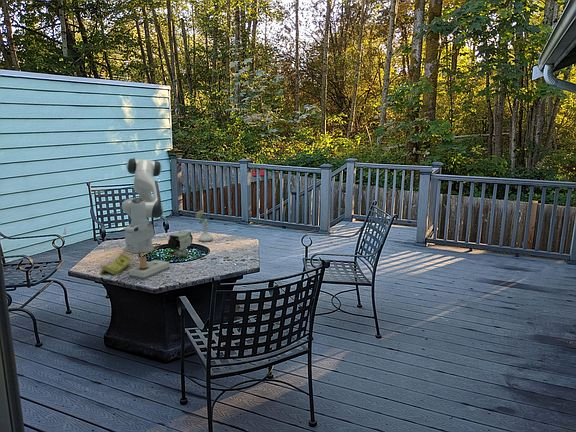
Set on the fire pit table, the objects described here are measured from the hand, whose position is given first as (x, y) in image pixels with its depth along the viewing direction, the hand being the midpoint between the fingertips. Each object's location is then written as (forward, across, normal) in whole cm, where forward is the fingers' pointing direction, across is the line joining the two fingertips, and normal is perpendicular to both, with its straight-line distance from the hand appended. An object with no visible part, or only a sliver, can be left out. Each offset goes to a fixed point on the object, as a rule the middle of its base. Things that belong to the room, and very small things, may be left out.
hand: (141, 248), depth 258 cm
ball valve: (+17, -40, -4) cm, 44 cm away
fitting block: (+17, -5, 0) cm, 17 cm away
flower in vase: (+17, -80, -15) cm, 83 cm away
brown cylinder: (+15, 0, +1) cm, 16 cm away
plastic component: (+17, 0, -22) cm, 28 cm away
